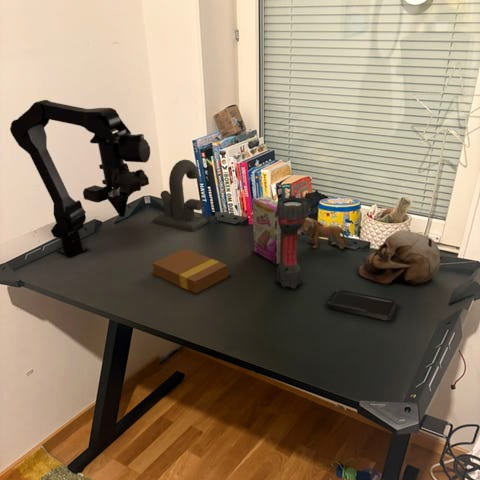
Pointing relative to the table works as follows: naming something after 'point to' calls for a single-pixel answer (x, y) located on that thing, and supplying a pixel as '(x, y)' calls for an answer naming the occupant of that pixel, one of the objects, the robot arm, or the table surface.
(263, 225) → the candy bar box
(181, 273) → the brown banded box
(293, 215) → the flashlight
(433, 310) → the table surface
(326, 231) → the lion figurine
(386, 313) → the phone
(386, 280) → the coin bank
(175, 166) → the dark grey curved stand
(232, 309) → the table surface
